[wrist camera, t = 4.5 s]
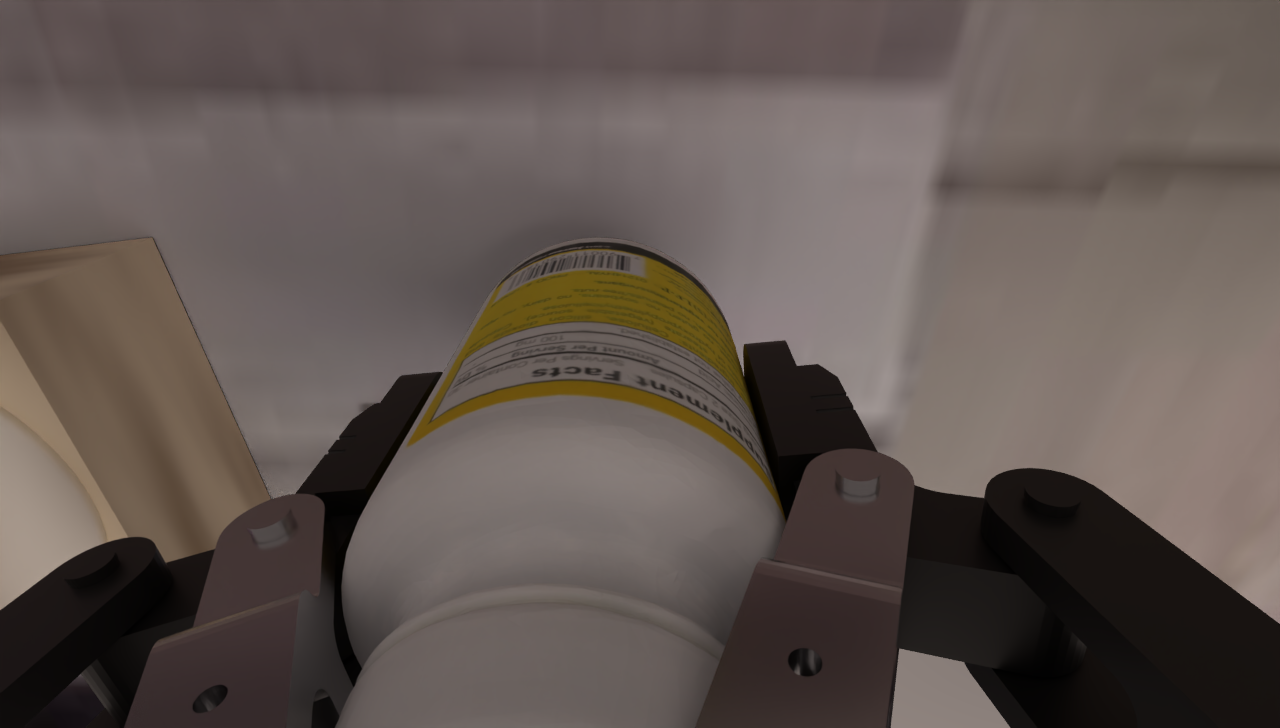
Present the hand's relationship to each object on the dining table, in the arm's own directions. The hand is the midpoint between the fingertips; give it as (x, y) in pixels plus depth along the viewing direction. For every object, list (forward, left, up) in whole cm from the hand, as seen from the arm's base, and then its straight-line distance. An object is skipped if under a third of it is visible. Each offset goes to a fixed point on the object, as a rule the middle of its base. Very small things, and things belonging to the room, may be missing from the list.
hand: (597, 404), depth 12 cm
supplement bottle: (0, 0, -2) cm, 2 cm away
